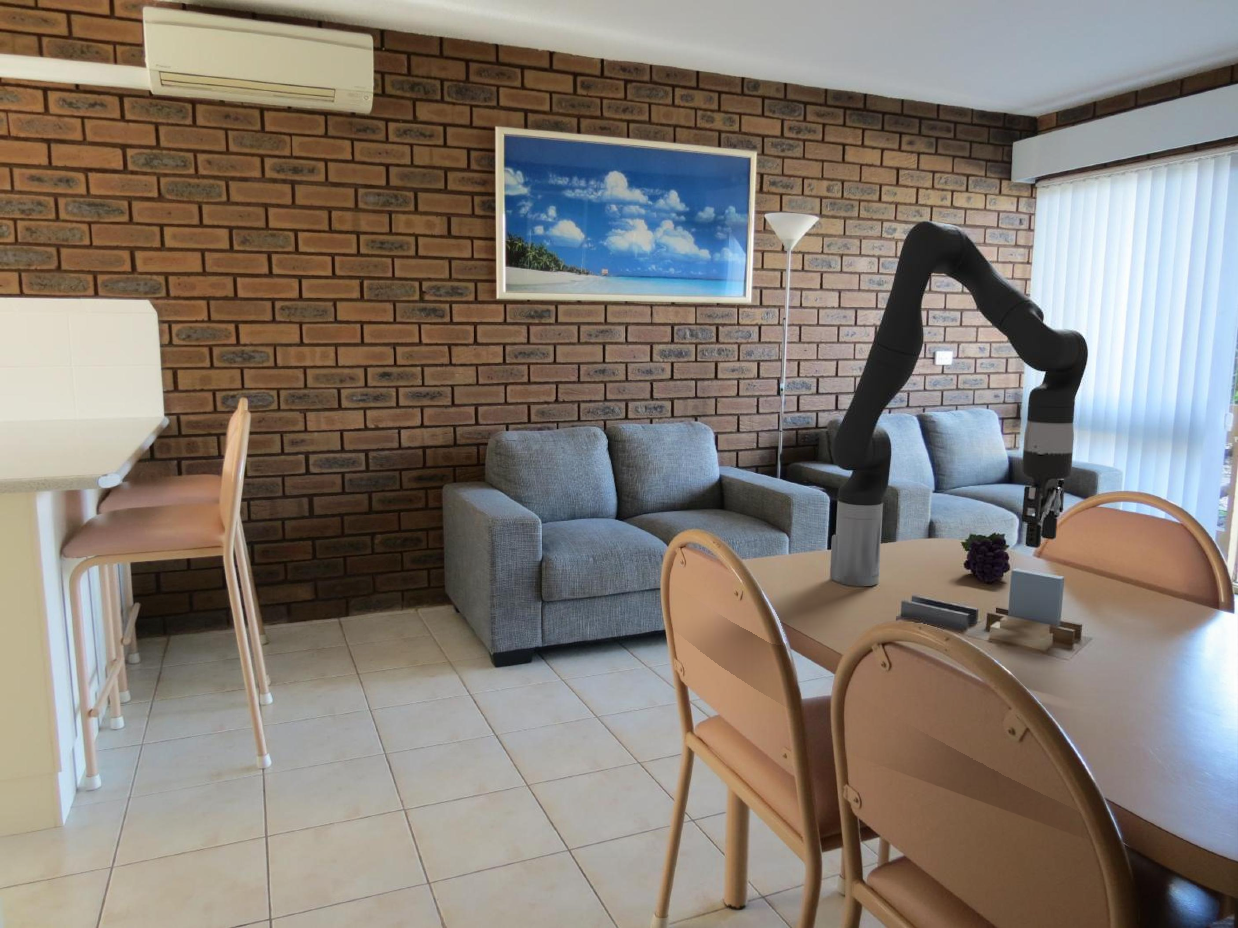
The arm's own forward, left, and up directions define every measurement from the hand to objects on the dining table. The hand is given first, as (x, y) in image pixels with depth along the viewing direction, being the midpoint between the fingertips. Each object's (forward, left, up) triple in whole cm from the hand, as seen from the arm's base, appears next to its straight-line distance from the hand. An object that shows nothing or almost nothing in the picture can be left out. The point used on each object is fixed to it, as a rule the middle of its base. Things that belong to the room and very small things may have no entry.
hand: (1040, 542), depth 149 cm
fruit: (-20, +34, -17) cm, 43 cm away
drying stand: (-15, -4, -17) cm, 23 cm away
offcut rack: (0, -3, -17) cm, 17 cm away
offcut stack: (0, -6, -16) cm, 17 cm away
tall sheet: (0, 0, -16) cm, 16 cm away
